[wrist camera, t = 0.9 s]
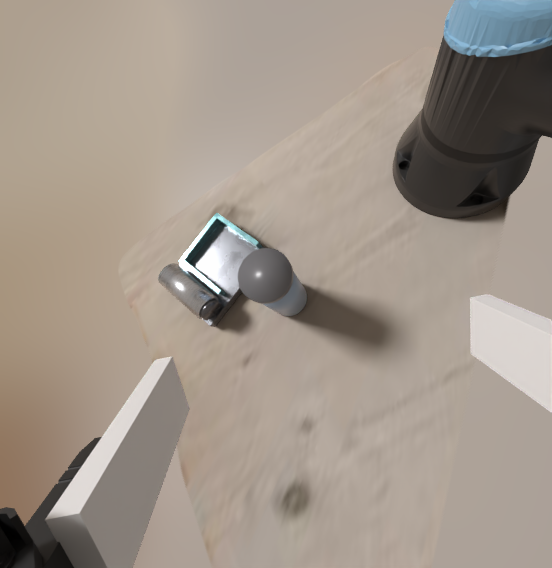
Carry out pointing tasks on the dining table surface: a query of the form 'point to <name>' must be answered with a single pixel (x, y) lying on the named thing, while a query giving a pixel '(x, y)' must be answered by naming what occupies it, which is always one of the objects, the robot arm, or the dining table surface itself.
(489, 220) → the dining table surface
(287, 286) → the ball
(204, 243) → the motor mount
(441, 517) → the dining table surface
